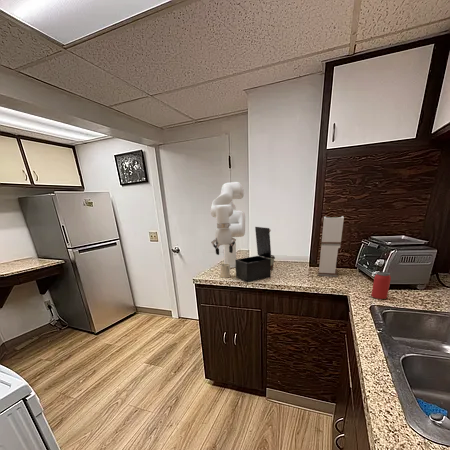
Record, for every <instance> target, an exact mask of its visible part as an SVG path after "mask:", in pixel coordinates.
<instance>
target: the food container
mask: <svg viewBox="0 0 450 450" xmlns="http://www.w3.org/2000/svg"><path fill="white" fill-rule="evenodd" d="M261 257H263V256H261ZM265 258H267V257H265ZM268 259H271V271H273V270H274V264H275V260H276V257H275V255H273V254H271V258H268Z"/></svg>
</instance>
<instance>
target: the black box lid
mask: <svg viewBox="0 0 450 450" xmlns="http://www.w3.org/2000/svg"><path fill="white" fill-rule="evenodd" d="M254 231H255V240H256V241H255V242H256V250H257V252H256V253H257V256H263V257H267V258H271V255H272V247H271V235H270V234H271V233H270V232H271V231H272V230H271V229H270V227H262V226H255V227H254Z"/></svg>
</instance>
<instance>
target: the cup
mask: <svg viewBox="0 0 450 450" xmlns="http://www.w3.org/2000/svg"><path fill="white" fill-rule="evenodd" d="M219 267H220V277H221V278H223V279H226V278H227V279H228V278H230V277H231V268H230V264H224V263H222V264H220V265H219Z"/></svg>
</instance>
